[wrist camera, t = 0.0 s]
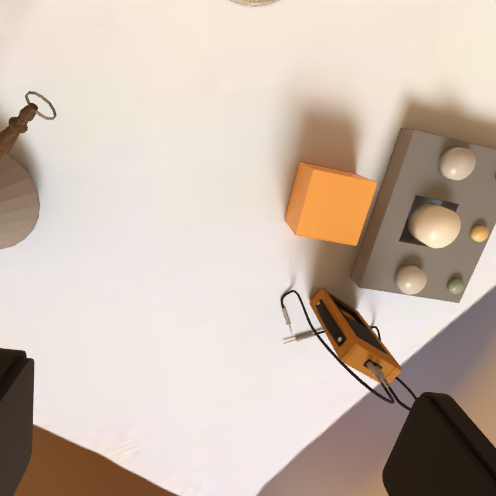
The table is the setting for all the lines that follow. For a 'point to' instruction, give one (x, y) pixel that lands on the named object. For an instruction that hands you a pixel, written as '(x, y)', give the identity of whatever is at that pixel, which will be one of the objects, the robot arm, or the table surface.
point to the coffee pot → (17, 182)
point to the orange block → (329, 204)
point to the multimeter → (352, 342)
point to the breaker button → (434, 225)
